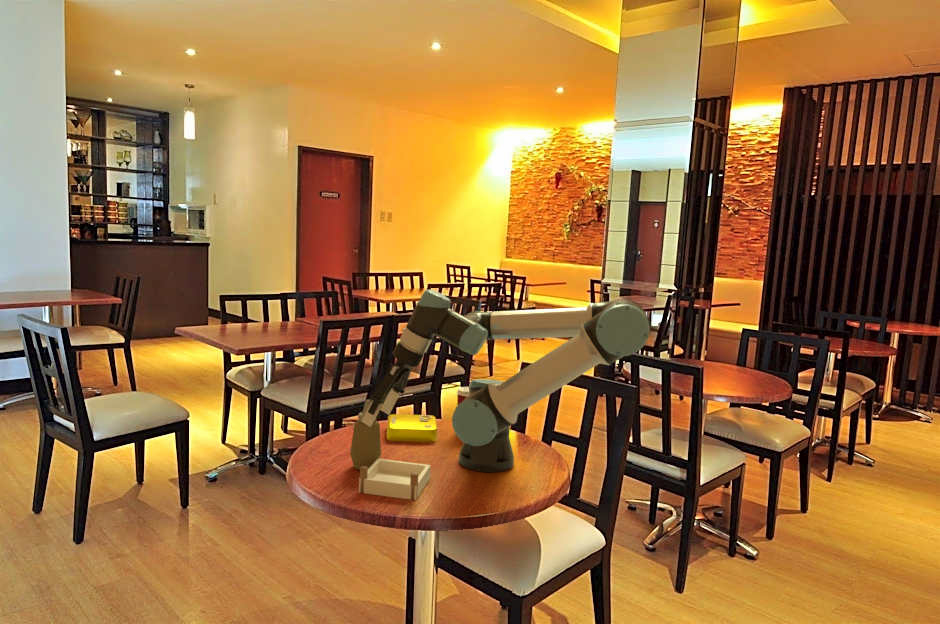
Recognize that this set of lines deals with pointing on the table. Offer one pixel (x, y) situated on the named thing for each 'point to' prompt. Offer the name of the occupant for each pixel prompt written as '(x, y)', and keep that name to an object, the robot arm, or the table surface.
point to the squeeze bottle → (365, 441)
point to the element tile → (411, 428)
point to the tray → (394, 479)
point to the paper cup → (462, 394)
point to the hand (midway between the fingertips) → (375, 417)
